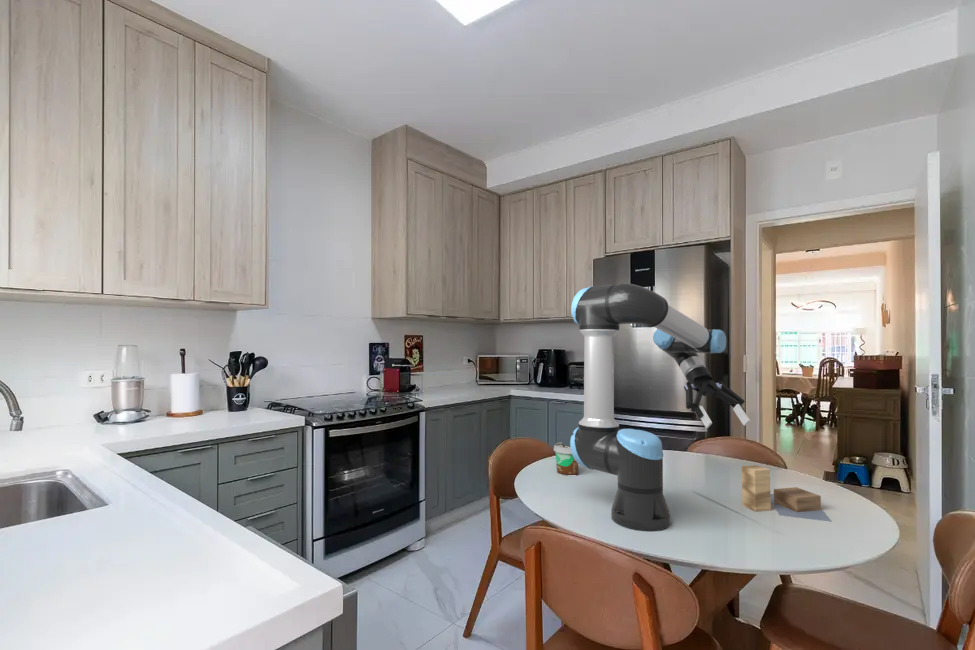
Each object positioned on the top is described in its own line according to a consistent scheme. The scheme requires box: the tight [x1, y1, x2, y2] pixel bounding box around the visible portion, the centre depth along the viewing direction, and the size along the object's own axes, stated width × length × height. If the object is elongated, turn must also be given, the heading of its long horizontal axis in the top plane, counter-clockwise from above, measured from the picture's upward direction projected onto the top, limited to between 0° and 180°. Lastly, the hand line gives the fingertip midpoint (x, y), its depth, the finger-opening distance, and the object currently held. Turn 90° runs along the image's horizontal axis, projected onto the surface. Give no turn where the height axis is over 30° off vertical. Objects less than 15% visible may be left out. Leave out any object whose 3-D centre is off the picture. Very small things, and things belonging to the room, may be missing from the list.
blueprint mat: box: [770, 493, 833, 523], centre depth 135 cm, size 20×12×1 cm, turn 157°
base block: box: [773, 486, 822, 512], centre depth 136 cm, size 8×8×4 cm
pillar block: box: [741, 464, 772, 513], centre depth 134 cm, size 5×5×12 cm
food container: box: [553, 441, 579, 476], centre depth 172 cm, size 12×6×10 cm, turn 25°
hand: (728, 424), depth 146 cm, fingers open, 13 cm apart
